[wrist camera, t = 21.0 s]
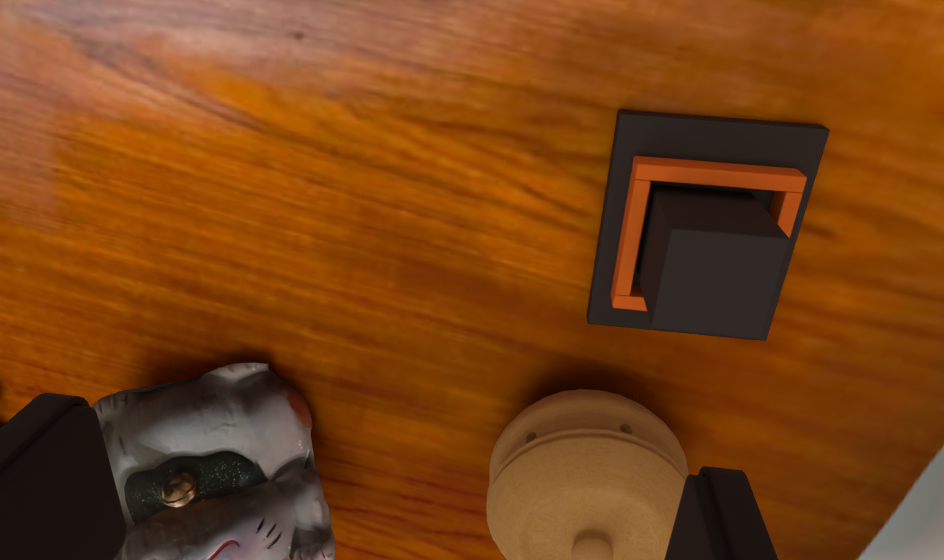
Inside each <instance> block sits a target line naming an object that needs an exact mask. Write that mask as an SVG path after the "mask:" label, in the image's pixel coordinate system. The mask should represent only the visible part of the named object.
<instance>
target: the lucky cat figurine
mask: <svg viewBox="0 0 944 560" xmlns="http://www.w3.org/2000/svg"><path fill="white" fill-rule="evenodd" d="M92 408H93V409H95V410H96V413H97V415H98V419H99V423H100V427H101V431H102V434H103V438H104V442H105V446H106V450H107V453H108V457H109V461H110V465H111V469H112V473H113V476H114V480H115V484H116V488H117V492H118V496H119V499H120V503H121V507H122V511H123V515H124V518H125V522H126V528H127V531H126V537H125V541H124V543H123V546H122V548H121V549H120V551H119V552H118V554H117V555H116V557H115V558H114V559H113V560H334V557H335V552H336V542H335V537H334V534H333V532H332V529H331V517H330V513H329V508H328V505H327V503H326V502H325V498H324V493H323V489H322V485H321V480H320V477H319V474H318V471H317V467H316V463H315V458H314V453H313V448H312V440H311V428H312V417H311V413H310V409H309V407H308V404H307V402H306V400H305V399H304V398H303V397H302V396H301V395H300V394H299V393H298V392H297V391H296V390H295V389H294V388H292V387H291V386H290V385H289V384H288V383H286V382H285V381H284V380H283V379H282V378H281V377H280V376H279V375H277V374H276V373H275V372H274V371H270V370H269V369H268V364H264V363H234V364H229V365H227V366H224V367H222V368H221V367H219V368H217V369H215V370H213V371H210V372H208V373H206V374H203V375H201V376H197V377H194V378H190V379H186V380H183V381H177V382H172V383H166V384H160V385H154V386H149V387H143V388H137V389H131V390H125V391H120V392H117V393H115V394H111V395H109V396H106V397H104V398H101V399H100V400H98V401H97V402H96V403H94V404H93V406H92Z"/></svg>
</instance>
